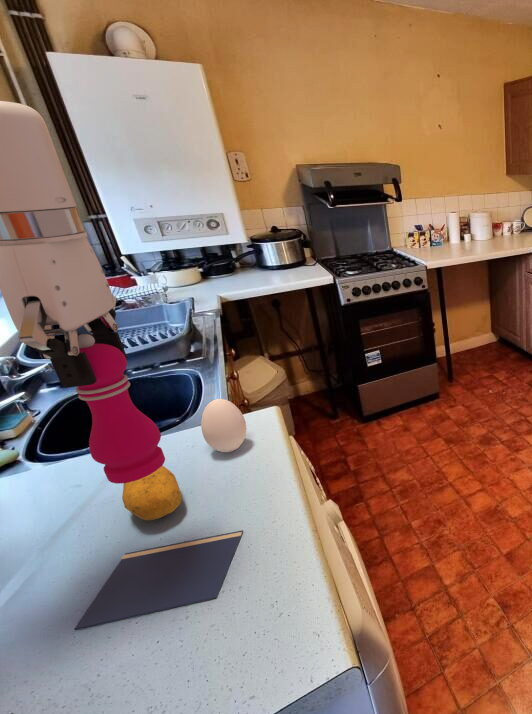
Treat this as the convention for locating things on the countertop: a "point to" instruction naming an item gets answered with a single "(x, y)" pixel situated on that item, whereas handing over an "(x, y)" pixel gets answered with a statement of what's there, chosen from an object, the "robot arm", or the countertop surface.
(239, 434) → the egg
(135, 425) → the pepper mill
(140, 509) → the potato
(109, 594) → the napkin
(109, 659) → the countertop surface
